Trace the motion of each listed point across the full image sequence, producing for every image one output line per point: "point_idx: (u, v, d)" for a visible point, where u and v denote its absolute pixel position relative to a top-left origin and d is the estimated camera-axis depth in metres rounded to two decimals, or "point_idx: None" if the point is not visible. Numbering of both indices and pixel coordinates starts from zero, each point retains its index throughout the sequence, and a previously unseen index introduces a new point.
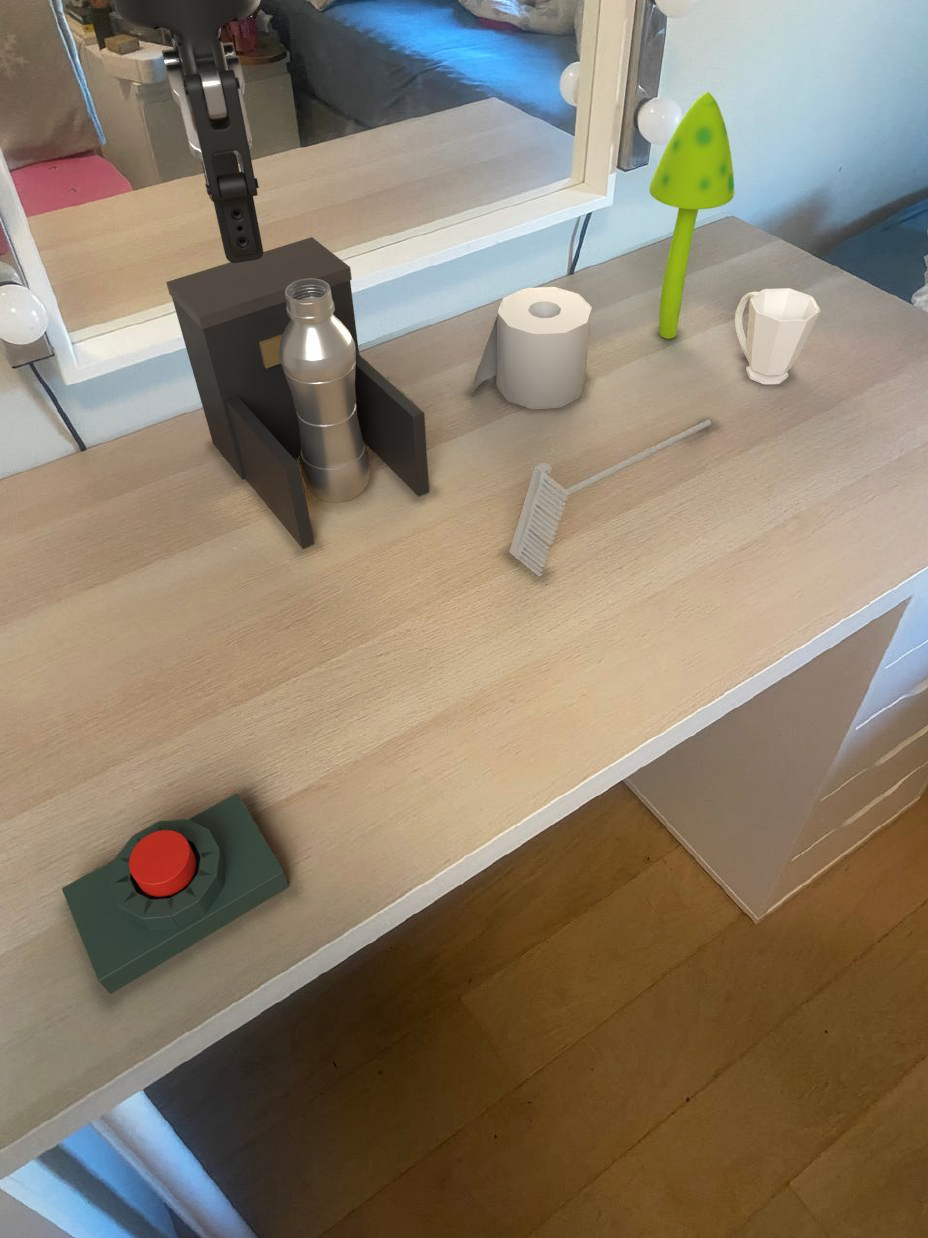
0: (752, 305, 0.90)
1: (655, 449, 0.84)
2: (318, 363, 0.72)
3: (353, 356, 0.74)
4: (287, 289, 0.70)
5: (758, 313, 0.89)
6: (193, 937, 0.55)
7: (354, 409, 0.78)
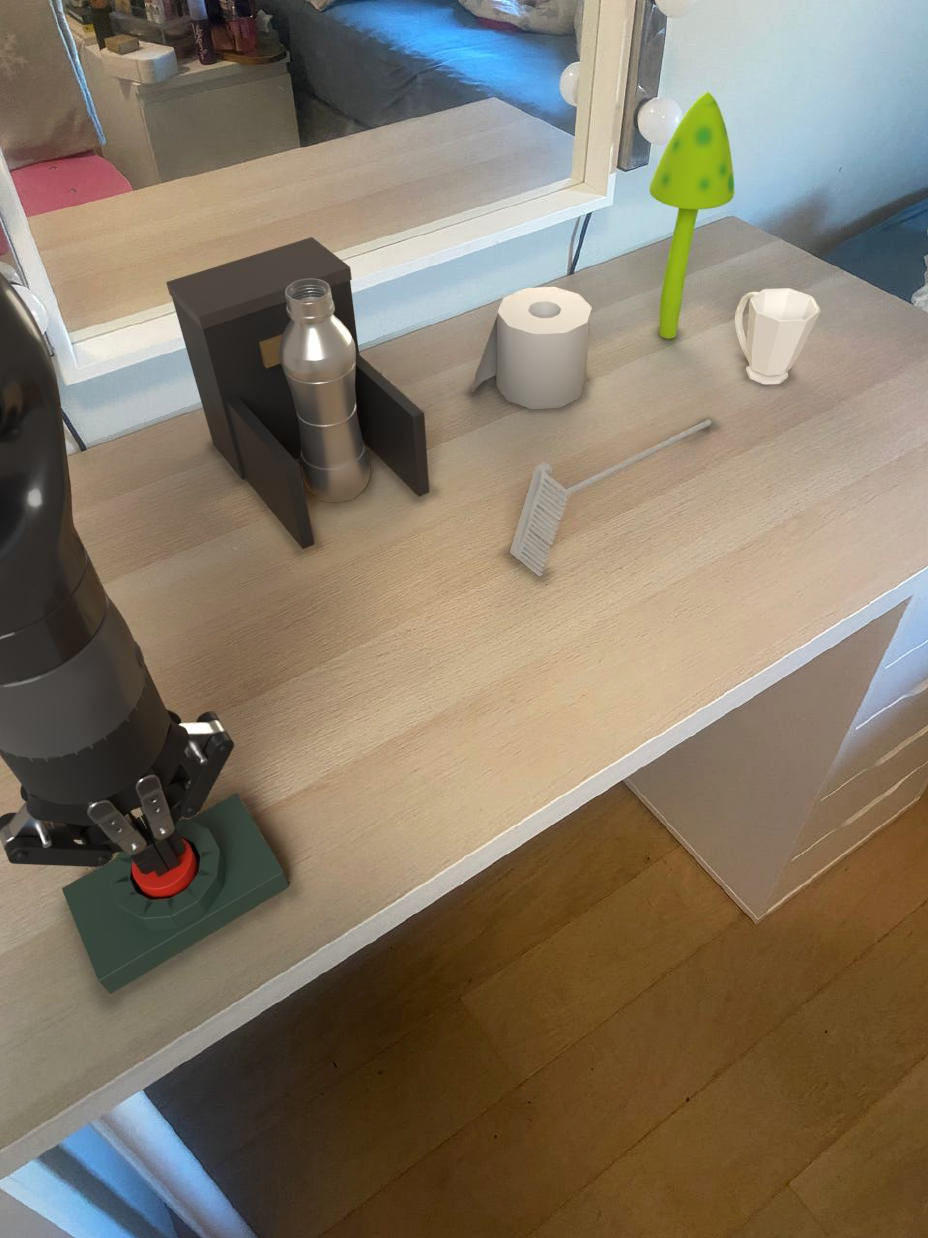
0: (752, 305, 0.90)
1: (655, 449, 0.84)
2: (318, 363, 0.72)
3: (353, 356, 0.74)
4: (287, 289, 0.70)
5: (758, 313, 0.89)
6: (193, 937, 0.55)
7: (354, 409, 0.78)
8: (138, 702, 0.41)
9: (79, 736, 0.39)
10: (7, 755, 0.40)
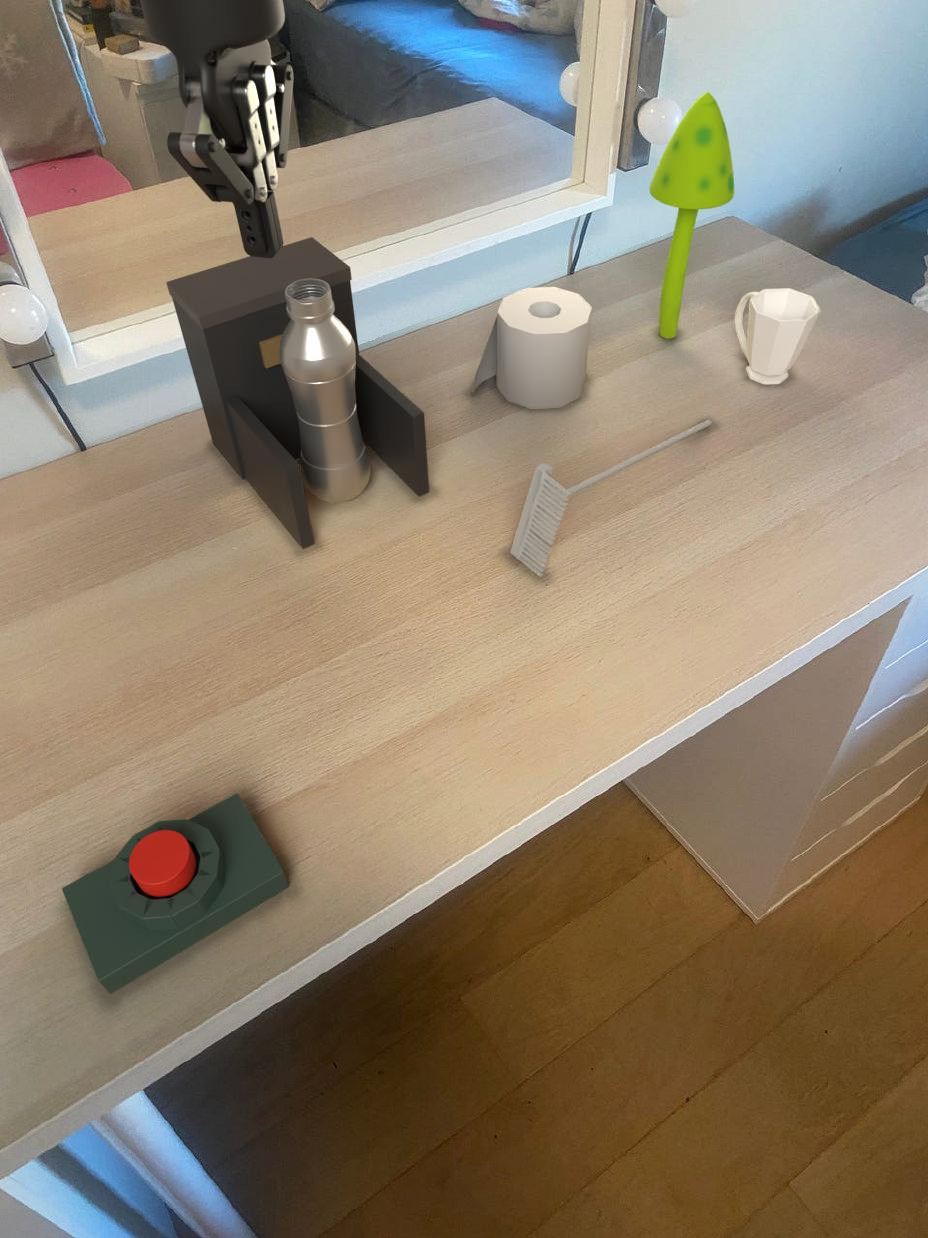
0: (752, 305, 0.90)
1: (655, 449, 0.84)
2: (318, 363, 0.72)
3: (353, 356, 0.74)
4: (287, 289, 0.70)
5: (758, 313, 0.89)
6: (193, 937, 0.55)
7: (354, 409, 0.78)
8: None
9: None
10: None
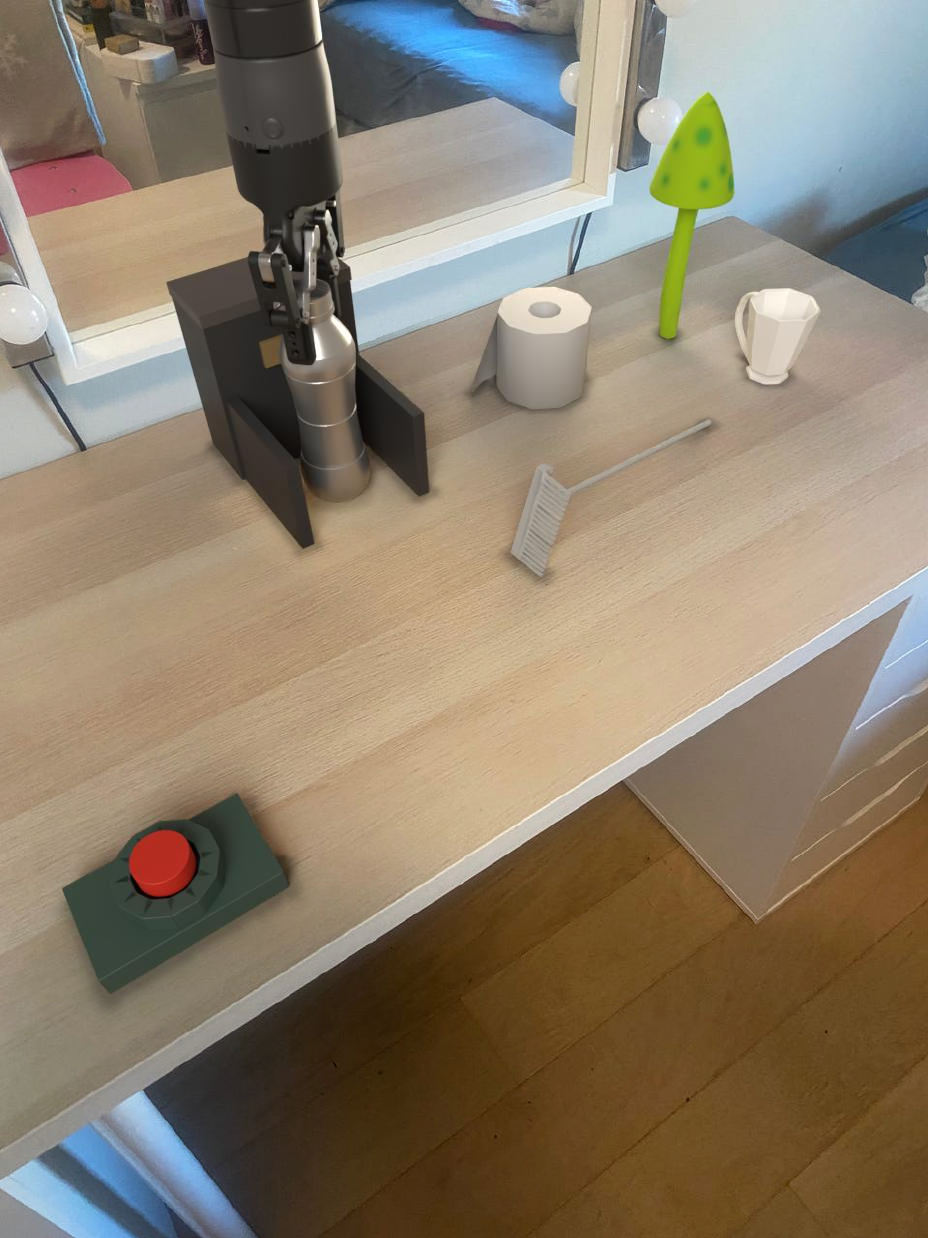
0: (752, 305, 0.90)
1: (655, 449, 0.84)
2: (318, 363, 0.72)
3: (353, 356, 0.74)
4: None
5: (758, 313, 0.89)
6: (193, 937, 0.55)
7: (354, 409, 0.78)
8: None
9: (330, 114, 0.60)
10: (292, 148, 0.59)
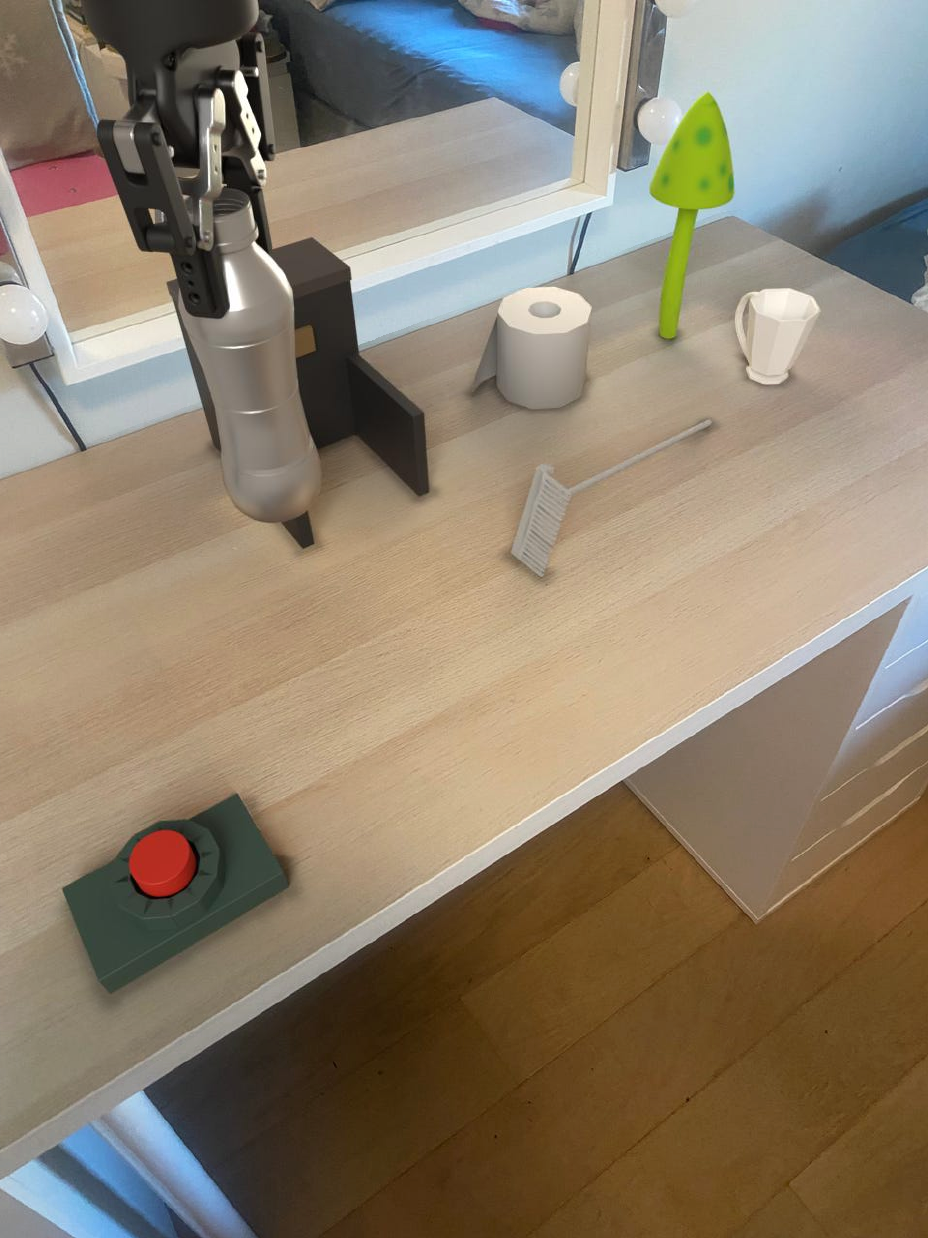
0: (752, 305, 0.90)
1: (656, 449, 0.84)
2: (234, 316, 0.47)
3: (289, 308, 0.49)
4: None
5: (758, 313, 0.89)
6: (193, 937, 0.55)
7: (295, 389, 0.54)
8: None
9: None
10: None
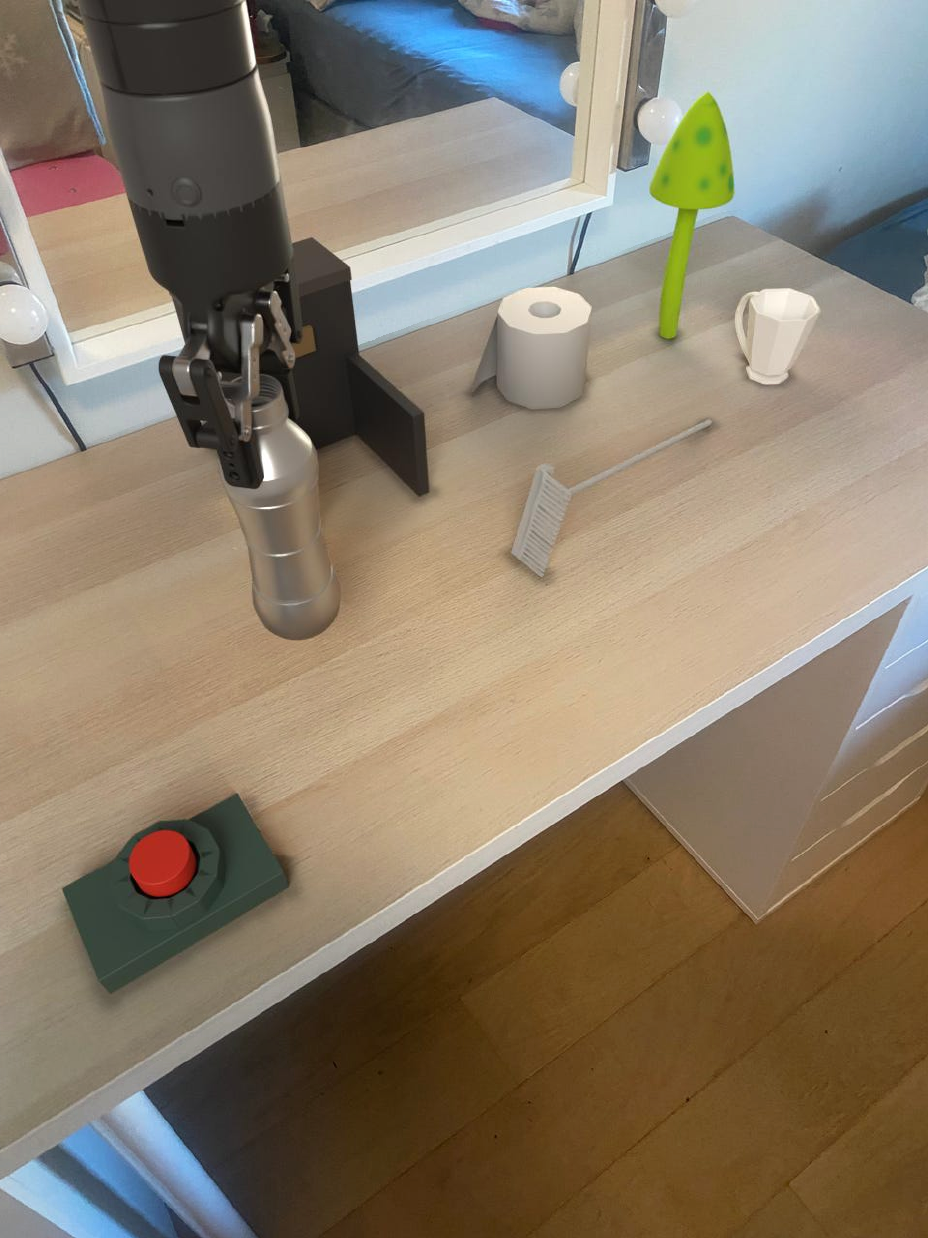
0: (752, 305, 0.90)
1: (656, 449, 0.84)
2: (268, 484, 0.54)
3: (314, 471, 0.56)
4: None
5: (758, 313, 0.89)
6: (193, 937, 0.55)
7: (318, 532, 0.61)
8: None
9: (271, 169, 0.43)
10: (215, 218, 0.42)
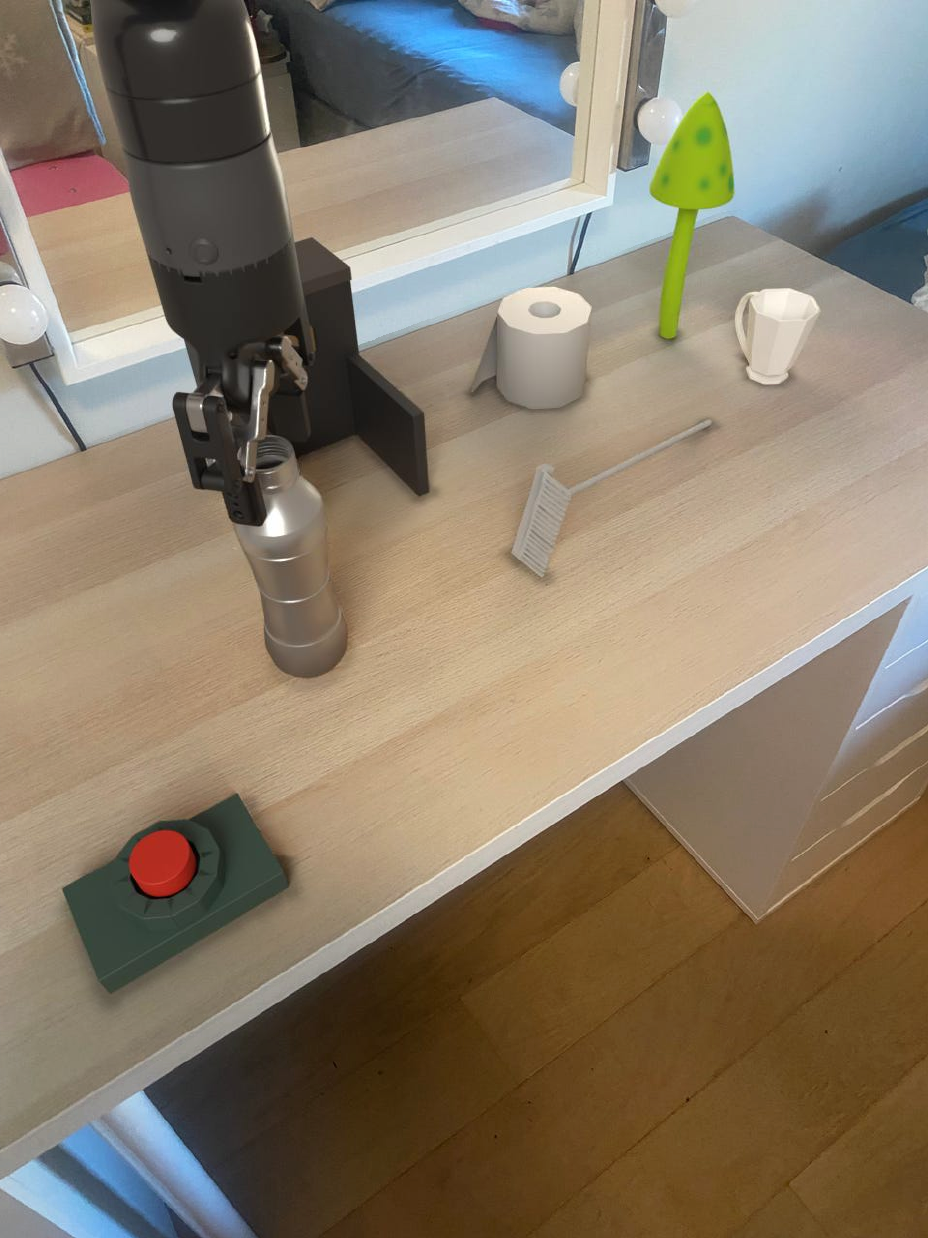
0: (752, 305, 0.90)
1: (656, 449, 0.84)
2: (280, 539, 0.58)
3: (324, 525, 0.60)
4: (240, 451, 0.56)
5: (758, 313, 0.89)
6: (193, 937, 0.55)
7: (327, 578, 0.64)
8: None
9: (284, 227, 0.45)
10: (231, 274, 0.44)
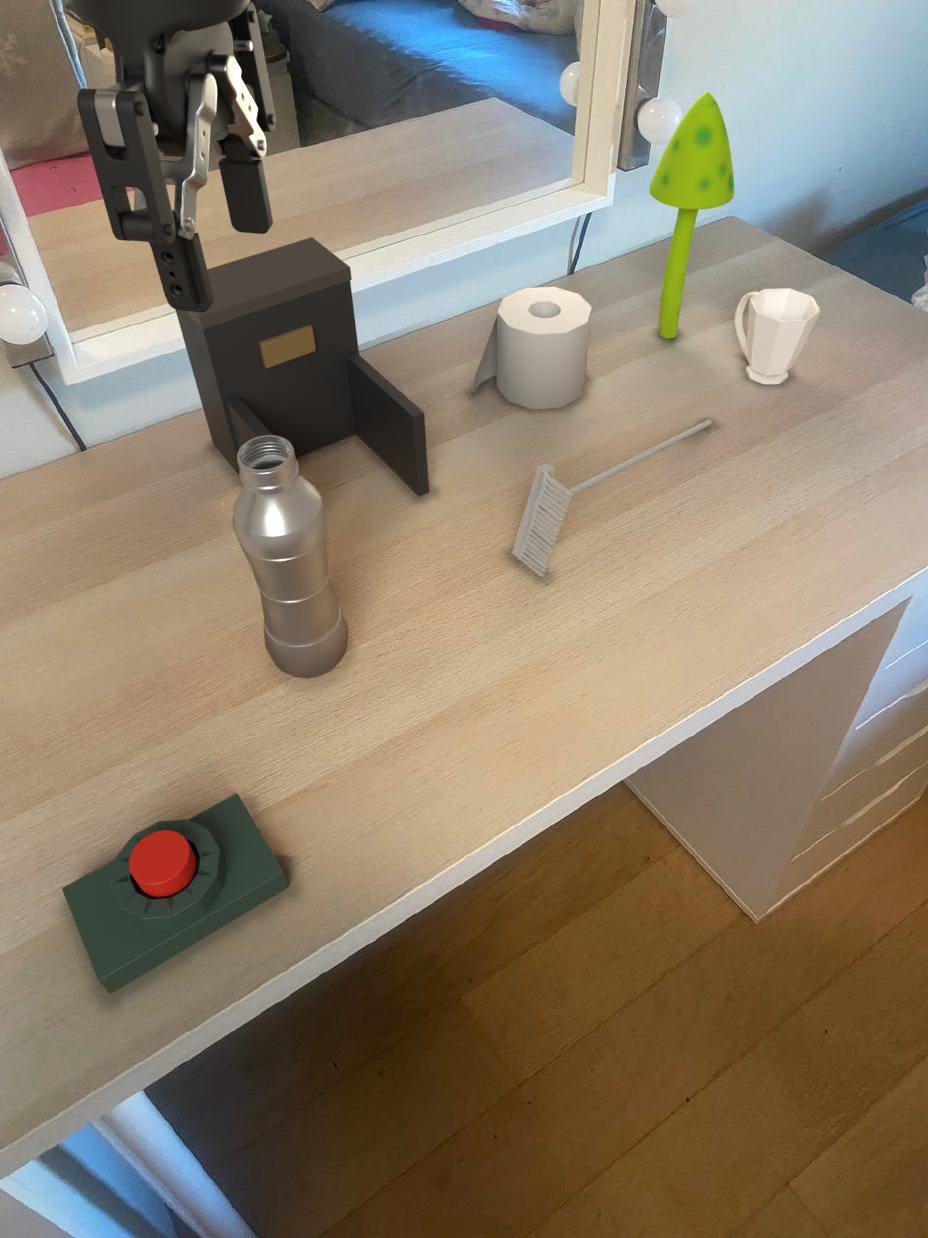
0: (752, 305, 0.90)
1: (656, 449, 0.84)
2: (280, 539, 0.58)
3: (324, 525, 0.60)
4: (240, 451, 0.56)
5: (758, 313, 0.89)
6: (193, 937, 0.55)
7: (327, 578, 0.64)
8: None
9: None
10: None
